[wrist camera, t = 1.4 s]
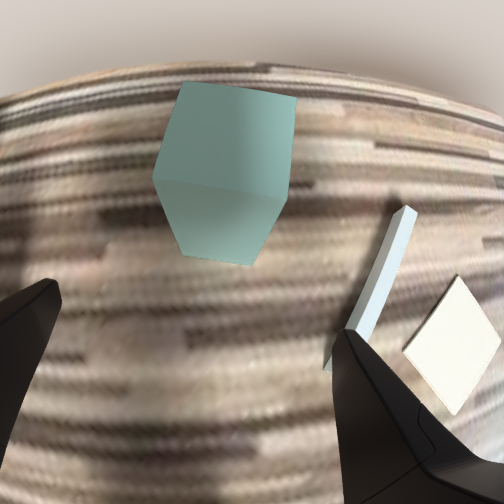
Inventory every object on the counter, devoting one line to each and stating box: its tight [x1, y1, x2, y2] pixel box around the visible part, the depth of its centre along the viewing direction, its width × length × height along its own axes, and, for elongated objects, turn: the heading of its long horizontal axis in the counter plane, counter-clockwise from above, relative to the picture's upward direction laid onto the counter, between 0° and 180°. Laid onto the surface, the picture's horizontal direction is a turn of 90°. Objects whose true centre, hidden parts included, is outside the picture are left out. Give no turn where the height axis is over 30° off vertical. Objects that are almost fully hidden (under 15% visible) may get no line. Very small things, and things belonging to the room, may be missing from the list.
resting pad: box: [403, 276, 501, 416], centre depth 23 cm, size 9×9×1 cm
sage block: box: [151, 81, 297, 266], centre depth 18 cm, size 5×5×12 cm
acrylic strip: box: [324, 205, 418, 374], centre depth 23 cm, size 14×1×2 cm, turn 151°
